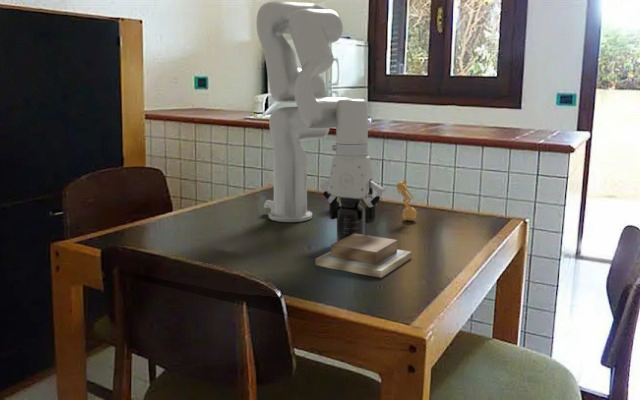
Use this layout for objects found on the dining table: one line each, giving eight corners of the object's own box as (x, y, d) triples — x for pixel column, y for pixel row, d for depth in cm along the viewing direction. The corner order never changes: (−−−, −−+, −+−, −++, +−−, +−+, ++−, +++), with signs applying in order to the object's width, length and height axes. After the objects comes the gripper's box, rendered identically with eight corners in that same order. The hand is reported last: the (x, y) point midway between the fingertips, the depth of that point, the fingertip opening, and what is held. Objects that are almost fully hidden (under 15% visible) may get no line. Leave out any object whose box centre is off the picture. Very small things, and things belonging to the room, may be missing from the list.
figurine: (422, 223, 175) (424, 181, 173) (403, 225, 173) (405, 182, 171) (408, 216, 183) (409, 176, 180) (389, 218, 181) (391, 177, 178)
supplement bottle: (335, 239, 159) (335, 192, 157) (361, 238, 160) (362, 192, 157) (338, 246, 152) (338, 198, 150) (365, 246, 153) (366, 198, 150)
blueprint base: (315, 265, 138) (315, 245, 137) (349, 247, 152) (349, 229, 151) (381, 277, 130) (381, 257, 129) (411, 258, 144) (412, 239, 143)
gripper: (313, 150, 152) (313, 219, 156) (377, 154, 144) (377, 227, 147) (328, 147, 159) (329, 213, 162) (391, 151, 150) (390, 221, 153)
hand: (352, 220), depth 154 cm, fingers open, 9 cm apart
